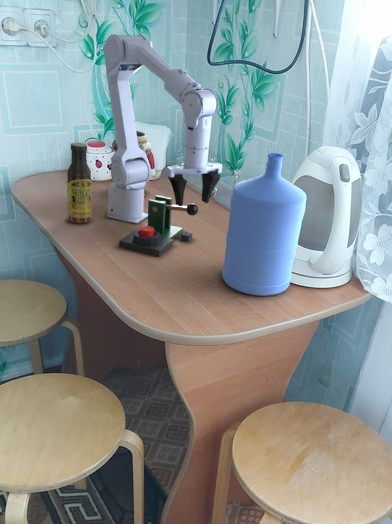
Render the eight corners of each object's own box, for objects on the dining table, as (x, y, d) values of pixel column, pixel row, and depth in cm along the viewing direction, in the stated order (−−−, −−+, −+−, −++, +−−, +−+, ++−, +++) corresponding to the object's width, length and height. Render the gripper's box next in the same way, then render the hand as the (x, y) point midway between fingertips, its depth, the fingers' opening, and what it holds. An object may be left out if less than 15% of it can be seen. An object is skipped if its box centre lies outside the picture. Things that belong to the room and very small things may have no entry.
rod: (199, 214, 131) (199, 202, 130) (195, 217, 129) (195, 205, 127) (157, 209, 135) (157, 198, 134) (152, 212, 133) (152, 201, 131)
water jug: (271, 305, 109) (297, 171, 94) (208, 282, 116) (222, 153, 100) (299, 279, 121) (326, 156, 105) (241, 260, 127) (258, 141, 111)
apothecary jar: (148, 200, 158) (150, 139, 148) (108, 197, 158) (108, 135, 147) (151, 188, 168) (153, 130, 158) (114, 185, 168) (114, 126, 157)
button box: (119, 247, 128) (119, 233, 126) (134, 236, 134) (134, 223, 132) (159, 257, 125) (159, 243, 123) (172, 245, 131) (173, 232, 129)
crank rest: (180, 240, 134) (180, 234, 133) (183, 237, 136) (183, 231, 135) (188, 242, 134) (189, 236, 133) (191, 239, 135) (192, 233, 134)
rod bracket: (182, 232, 139) (185, 198, 134) (168, 243, 132) (170, 208, 127) (149, 224, 142) (150, 191, 137) (134, 235, 135) (134, 200, 130)
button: (136, 235, 127) (136, 228, 126) (143, 231, 129) (143, 224, 128) (149, 238, 126) (150, 232, 125) (156, 234, 128) (156, 227, 127)
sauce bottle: (71, 225, 137) (67, 147, 125) (65, 217, 141) (60, 141, 130) (95, 223, 139) (93, 146, 128) (88, 215, 144) (85, 140, 133)
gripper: (178, 152, 114) (175, 212, 122) (231, 149, 121) (225, 205, 129) (163, 145, 119) (160, 202, 127) (215, 142, 126) (209, 196, 134)
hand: (192, 203), depth 128 cm, fingers open, 7 cm apart
